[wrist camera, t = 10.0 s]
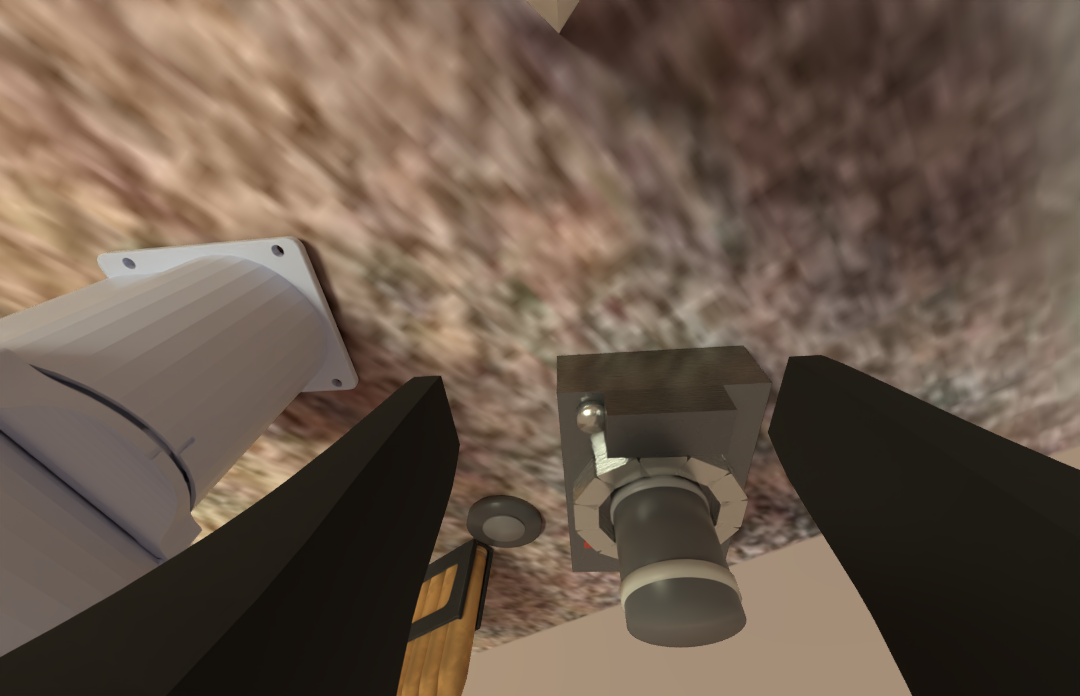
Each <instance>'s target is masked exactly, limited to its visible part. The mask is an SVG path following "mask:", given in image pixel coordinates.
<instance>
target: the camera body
mask: <svg viewBox="0 0 1080 696" xmlns="http://www.w3.org/2000/svg"><path fill="white" fill-rule="evenodd" d="M771 385H772V382H771V380H770V379H769V378H768V377H767V375H766V374H765V373H764V371H763V370H762V369H761V368H760V366H759V365H758V364H757V363H756V361H755V360H754V359H753V357H752V356H751V355H750V354H749V352H748V351H747V350H746V348H745V347H744V346H728V347H710V348H693V349H675V350H657V351H640V352H622V353H605V354H587V355H569V356H557V399H558V410H559V422H560V433H561V444H562V455H563V467H564V478H565V489H566V500H567V512H568V523H569V534H570V545H571V557H572V568H573V572H600V571H620V569H619V561H618V553H617V545H616V537H615V530H614V525H613V523H612V521H611V515H610V502H611V498H610V494H611V493H612V491H613V490H614V489H616V488H618V487H620V486H623V485H625V484H628V483H630V482H633V481H635V480H638V479H640V478H643V477H650V476H682V477H685V478H687V479H690V480H693V481H695V482H698V483H699V485H700V488H701V489H702V490H703V491H704V493H705V495H706V498H707V501H708V504H709V508H710V512H709V513H710V516H711V519H712V522H713V525H714V528H715V530H716V533H717V536H718V539H719V542H720V545H721V548H722V550H723V553H724V556H725V559H726V556H727V552H728V548H729V544H730V540H731V537H732V535H733V534H734V533H735V532H736V531H738V530H739V528H738V527H741V525H742V521H743V517H744V514H745V510H746V507H747V503H748V500H747V496H746V494H745V492H744V488H745V484H746V480H747V476H748V472H749V469H750V465H751V461H752V457H753V454H754V450H755V446H756V442H757V438H758V435H759V431H760V427H761V423H762V419H763V416H764V412H765V408H766V404H767V401H768V397H769V393H770V389H771Z"/></svg>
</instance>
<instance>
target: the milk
mask: <svg viewBox="0 0 1080 696" xmlns="http://www.w3.org/2000/svg"><path fill="white" fill-rule="evenodd" d="M526 1H527V2H528V3H529V4H530V5H531V6H532V7H533V8H534V9H535V10H536V11H537V12H538V13H539V14H540V15H541V16H542V17H543V18H544V19H545V20H546V21H547V22H548V23H549V24H550V25H551V26H552V27H553V28H554V29H555V30H556V31H557V32H558V33H560V31H561V29H562V28H563V26H564V25H565V23H566V21H567V20H568V18H569V17H570V15H571V13H572V12H573V10H574V9H575V7H576V6H577V4H578V2H579V1H580V0H526Z"/></svg>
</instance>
